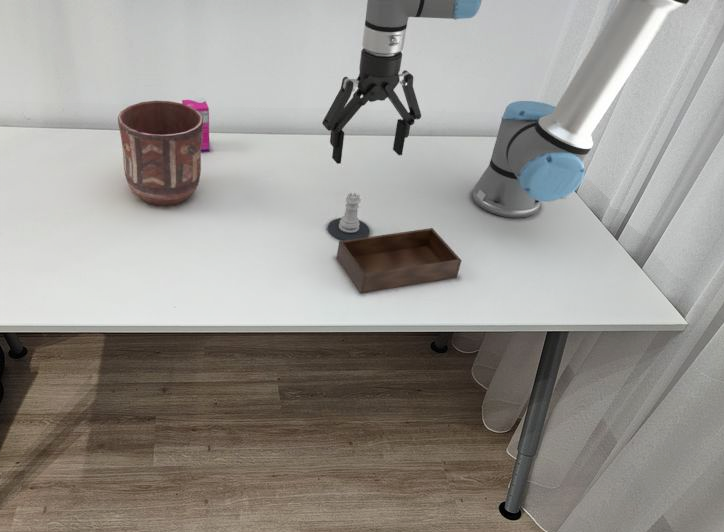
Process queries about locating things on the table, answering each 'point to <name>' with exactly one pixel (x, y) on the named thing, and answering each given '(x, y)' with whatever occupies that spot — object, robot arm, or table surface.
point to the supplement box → (204, 111)
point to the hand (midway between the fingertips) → (367, 156)
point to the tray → (397, 260)
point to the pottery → (161, 150)
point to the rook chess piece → (350, 215)
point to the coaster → (341, 235)
